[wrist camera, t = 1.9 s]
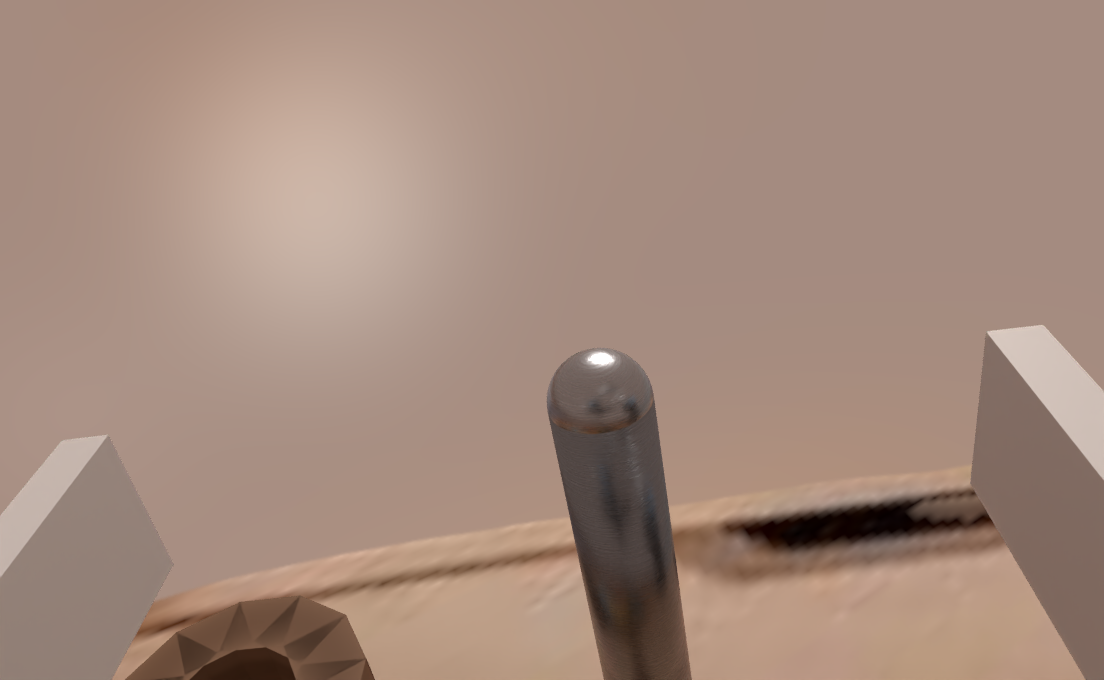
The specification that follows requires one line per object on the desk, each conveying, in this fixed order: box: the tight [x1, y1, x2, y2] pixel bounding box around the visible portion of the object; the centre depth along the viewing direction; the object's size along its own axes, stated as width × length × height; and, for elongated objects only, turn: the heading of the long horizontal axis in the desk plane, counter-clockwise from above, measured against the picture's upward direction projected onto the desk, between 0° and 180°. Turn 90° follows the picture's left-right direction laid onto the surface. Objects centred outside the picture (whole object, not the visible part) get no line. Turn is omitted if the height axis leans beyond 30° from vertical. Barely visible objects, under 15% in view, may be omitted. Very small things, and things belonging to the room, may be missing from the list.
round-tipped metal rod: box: [547, 348, 692, 680], centre depth 29 cm, size 3×3×18 cm
